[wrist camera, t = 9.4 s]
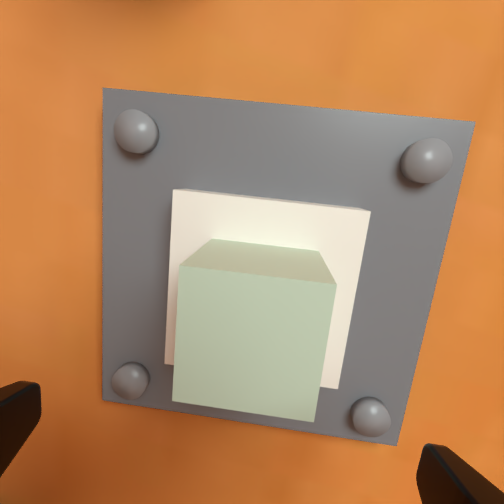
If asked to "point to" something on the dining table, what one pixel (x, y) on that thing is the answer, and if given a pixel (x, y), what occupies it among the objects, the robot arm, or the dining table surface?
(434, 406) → the dining table surface
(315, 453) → the dining table surface
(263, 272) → the sage brick
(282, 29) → the dining table surface
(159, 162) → the tower base
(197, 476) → the dining table surface
